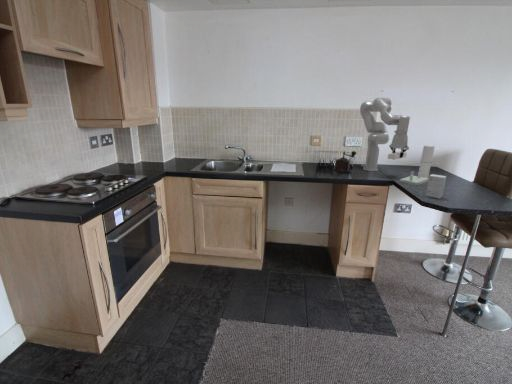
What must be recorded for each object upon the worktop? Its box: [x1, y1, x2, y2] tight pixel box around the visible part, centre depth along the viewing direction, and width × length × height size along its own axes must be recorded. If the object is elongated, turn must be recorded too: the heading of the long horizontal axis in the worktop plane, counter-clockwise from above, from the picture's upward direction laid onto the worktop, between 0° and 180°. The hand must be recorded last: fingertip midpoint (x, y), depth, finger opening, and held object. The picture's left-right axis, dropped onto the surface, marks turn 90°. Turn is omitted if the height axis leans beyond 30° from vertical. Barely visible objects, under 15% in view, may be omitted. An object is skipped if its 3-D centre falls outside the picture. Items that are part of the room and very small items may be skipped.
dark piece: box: [334, 150, 357, 173], centre depth 236 cm, size 16×11×18 cm
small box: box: [425, 173, 448, 199], centre depth 172 cm, size 8×6×13 cm
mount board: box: [399, 168, 429, 186], centre depth 208 cm, size 12×22×8 cm, turn 130°
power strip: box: [387, 151, 408, 160], centre depth 215 cm, size 5×20×4 cm, turn 130°
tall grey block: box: [418, 144, 436, 178], centre depth 218 cm, size 7×7×25 cm
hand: (397, 156), depth 216 cm, fingers closed on power strip, 5 cm apart
